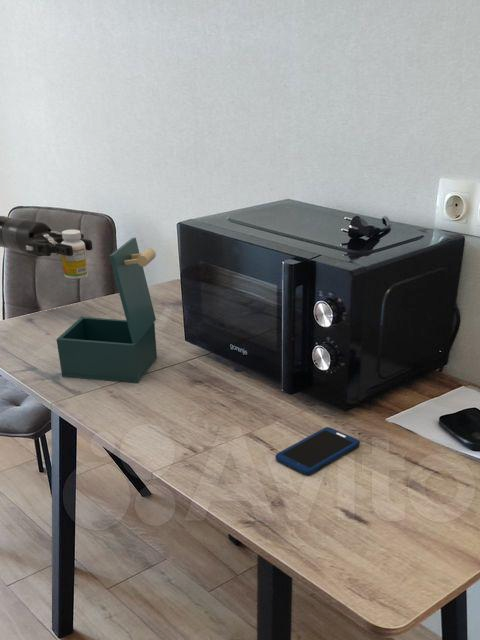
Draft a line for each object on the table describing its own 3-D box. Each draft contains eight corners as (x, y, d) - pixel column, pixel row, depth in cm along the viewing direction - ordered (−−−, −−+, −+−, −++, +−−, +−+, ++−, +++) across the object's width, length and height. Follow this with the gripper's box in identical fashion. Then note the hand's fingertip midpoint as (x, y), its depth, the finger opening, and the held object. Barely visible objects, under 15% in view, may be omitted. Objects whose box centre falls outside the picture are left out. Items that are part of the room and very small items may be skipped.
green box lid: (108, 255, 124) (137, 252, 123) (131, 237, 134) (158, 234, 133) (132, 343, 132) (159, 340, 131) (152, 320, 143) (177, 317, 142)
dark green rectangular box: (62, 376, 139) (56, 339, 134) (86, 352, 149) (81, 316, 145) (138, 383, 137) (134, 345, 132) (157, 357, 147) (154, 322, 143)
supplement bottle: (68, 271, 162) (62, 228, 157) (91, 272, 162) (86, 229, 157) (61, 278, 158) (55, 234, 152) (85, 279, 158) (79, 235, 152)
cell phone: (361, 444, 118) (361, 440, 117) (307, 476, 109) (307, 472, 109) (327, 429, 122) (327, 425, 122) (273, 459, 113) (273, 455, 113)
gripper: (-1, 225, 155) (55, 237, 148) (48, 214, 166) (102, 224, 158) (5, 260, 159) (60, 273, 152) (52, 246, 170) (105, 258, 162)
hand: (81, 248), depth 155 cm, fingers closed on supplement bottle, 5 cm apart
